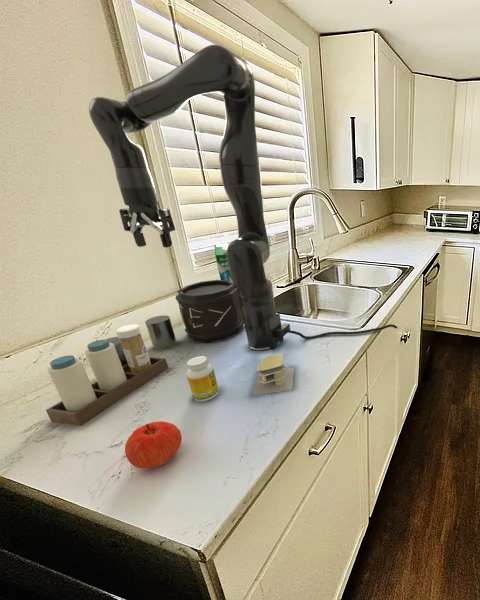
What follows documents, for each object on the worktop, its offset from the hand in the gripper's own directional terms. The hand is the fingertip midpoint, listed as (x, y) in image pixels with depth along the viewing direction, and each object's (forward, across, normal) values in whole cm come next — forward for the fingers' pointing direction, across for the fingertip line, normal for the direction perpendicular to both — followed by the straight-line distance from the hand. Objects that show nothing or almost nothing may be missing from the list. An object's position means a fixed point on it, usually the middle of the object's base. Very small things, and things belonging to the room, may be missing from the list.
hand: (154, 246), depth 92 cm
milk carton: (+30, -2, -27) cm, 41 cm away
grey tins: (+30, +2, +11) cm, 32 cm away
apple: (+30, -33, +41) cm, 61 cm away
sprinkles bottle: (+30, -6, +19) cm, 36 cm away
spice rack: (+30, -6, +26) cm, 40 cm away
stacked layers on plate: (+30, -41, +15) cm, 53 cm away
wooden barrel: (+30, -7, -7) cm, 32 cm away
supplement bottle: (+30, -28, +23) cm, 47 cm away
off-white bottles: (+30, -6, +30) cm, 42 cm away
